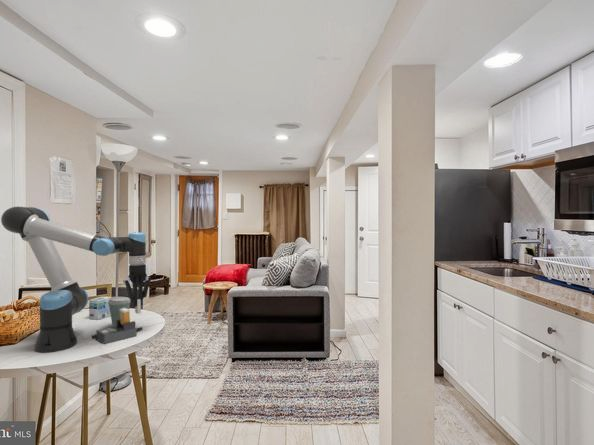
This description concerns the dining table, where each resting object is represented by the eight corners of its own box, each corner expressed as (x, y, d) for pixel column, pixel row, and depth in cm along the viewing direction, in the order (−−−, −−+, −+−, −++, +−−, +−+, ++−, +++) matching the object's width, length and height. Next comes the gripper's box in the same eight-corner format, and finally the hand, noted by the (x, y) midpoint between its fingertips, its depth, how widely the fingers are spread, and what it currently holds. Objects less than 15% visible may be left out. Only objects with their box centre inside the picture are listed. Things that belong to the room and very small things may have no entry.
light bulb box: (98, 320, 197) (98, 300, 197) (88, 319, 199) (88, 299, 199) (113, 315, 208) (113, 296, 207) (103, 314, 209) (103, 296, 209)
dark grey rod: (92, 338, 165) (92, 335, 165) (91, 338, 166) (91, 335, 166) (134, 329, 179) (134, 326, 179) (132, 329, 180) (132, 326, 180)
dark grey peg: (134, 332, 174) (134, 329, 174) (132, 332, 175) (132, 329, 175) (142, 329, 179) (142, 327, 179) (140, 329, 179) (140, 326, 179)
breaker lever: (125, 328, 167) (124, 310, 166) (120, 326, 170) (119, 308, 170) (130, 327, 169) (129, 309, 168) (125, 324, 172) (124, 307, 172)
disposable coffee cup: (132, 323, 190) (132, 295, 190) (128, 329, 180) (128, 299, 180) (111, 324, 188) (111, 296, 188) (105, 330, 177) (105, 300, 177)
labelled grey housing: (104, 344, 158) (104, 328, 158) (96, 339, 165) (96, 323, 165) (136, 336, 168) (136, 321, 168) (127, 332, 175) (127, 317, 175)
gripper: (126, 266, 166) (127, 316, 166) (154, 263, 176) (154, 311, 176) (120, 265, 171) (121, 314, 171) (147, 262, 181) (147, 309, 181)
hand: (138, 312), depth 174 cm, fingers closed
